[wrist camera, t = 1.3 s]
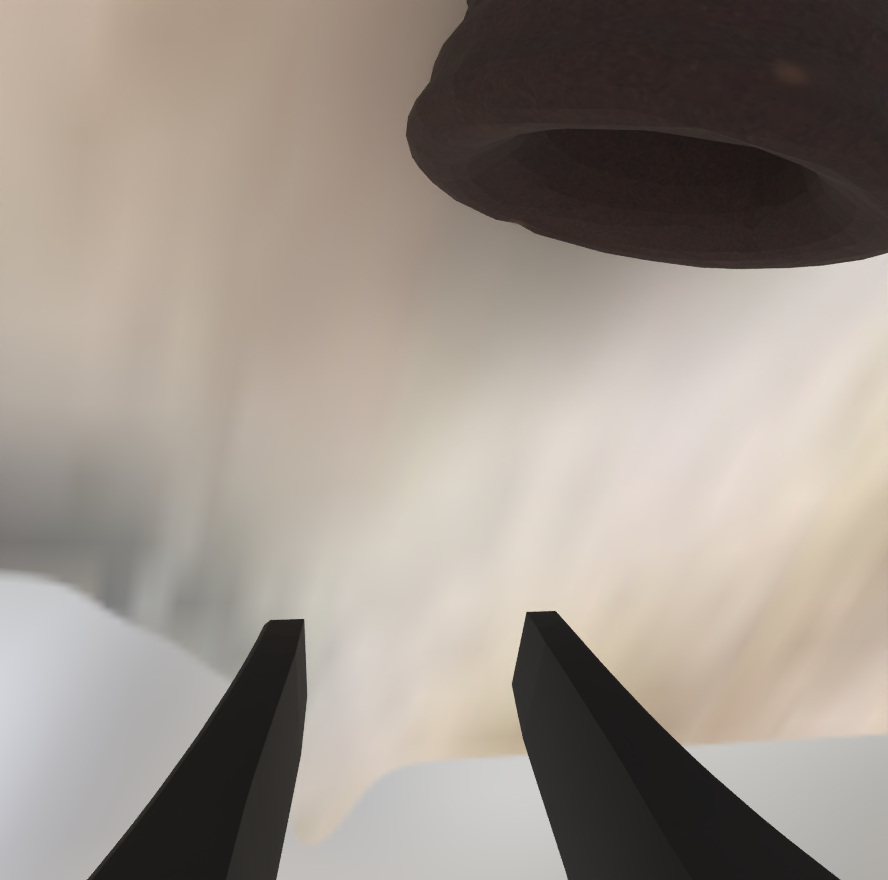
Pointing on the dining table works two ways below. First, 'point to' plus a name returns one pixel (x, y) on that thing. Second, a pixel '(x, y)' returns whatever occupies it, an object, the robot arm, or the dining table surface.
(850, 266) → the dining table surface
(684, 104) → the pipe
